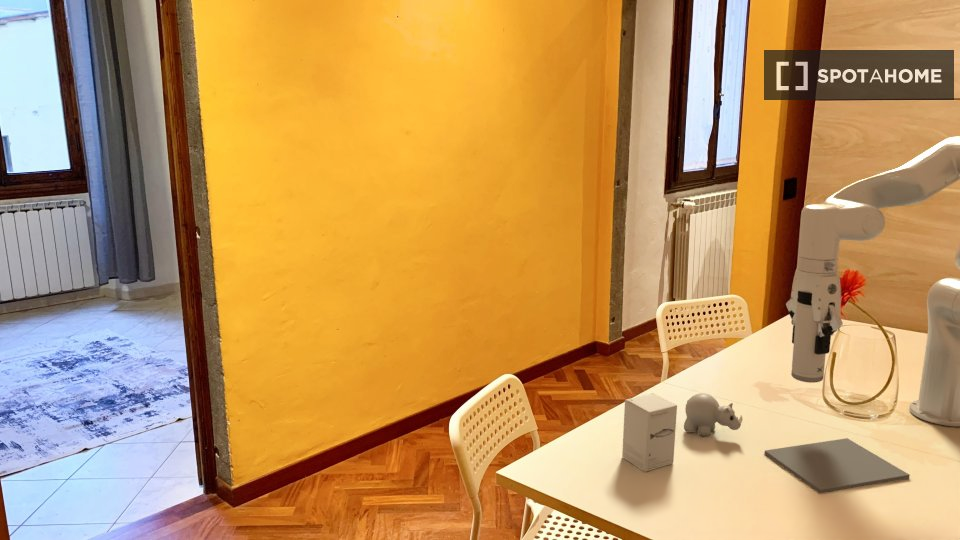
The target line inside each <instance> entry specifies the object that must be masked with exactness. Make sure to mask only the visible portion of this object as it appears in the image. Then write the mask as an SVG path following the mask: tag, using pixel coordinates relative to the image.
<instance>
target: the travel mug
mask: <svg viewBox="0 0 960 540" xmlns="http://www.w3.org/2000/svg"><path fill="white" fill-rule="evenodd" d="M811 301H812V293H806V292H800V291H798V298H797V307H796V320H795V333H794V344H793V347H792V359H791V360H792V362H791V363H792V364H791V371H790V372H791V373H790V375H791V377H792V378H793V379H795V380H797V381H798V382H799V381H800V382H804V383H809V384H810V383H813V384H814V383H820V382H822V381H824V376H825V375H824V374H825V364H826V363H825V362H826V354H819V355H817V354H815V340H816V336H817V335H818V330H817V322H815V321H813V315H812V309H811V308H812V303H811ZM824 320H827V317H824ZM823 328H824V329H825V328H826V323H825V324H823Z"/></svg>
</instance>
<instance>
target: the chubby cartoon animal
mask: <svg viewBox="0 0 960 540" xmlns="http://www.w3.org/2000/svg"><path fill="white" fill-rule="evenodd" d="M684 411H685V415H686V418H685V420H684V424H683V430H684V431H686V432H688V433H695V432H696V431H697V433H698V435H700V436H701V437H710V435H711V432H713V431H715V429H716V423H717V424H719V425H720V426H723V427H724V426H725V427H728V428H729V429H730V430H732V431H737V430H739V429H740V428H741V425H742V422H743V415H740V417H738V416H737V415H735V413H736V412H735V410H734V409H733V402H731V403H729V404H728V405H723V406H720V403H719V402H718V400H716V398H715V397H713V396H712V395H711V394H707V393H696V394H694V395H692V396H691V397H690V398H689V399H688V400H687V401H686V404H685V410H684Z"/></svg>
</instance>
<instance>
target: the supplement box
mask: <svg viewBox="0 0 960 540" xmlns="http://www.w3.org/2000/svg"><path fill="white" fill-rule="evenodd" d="M677 410H678V404H676V403H673V402H671V401H670V400H668V399H665V398H664V397H662V396H659V395H657V394H655V393H649V394H644V395H640V396H635V397H632V398H631V397H630V398H627V399H624V412H623V413H624V415H623V416H624V417H623V435H622V437H623V438H622V451H621V452H622V458H623V459H625V460H626V461H627V462H630V463H631V464H632V465H633V466H635V467H636V468H639V469H640V470H641V471H643V473H647V472H648V471H651V470H655V469H658V468H662V467H666V466H668V465H673V464H674V456H675V446H676V445H675V443H676V440H675V439H676V429H677V428H676V426H677V425H676V424H677V415H678V414H677V413H678V411H677Z"/></svg>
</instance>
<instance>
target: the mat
mask: <svg viewBox="0 0 960 540" xmlns="http://www.w3.org/2000/svg"><path fill="white" fill-rule="evenodd" d="M763 454H764V455H765V456H767V457H768V458H769V459H770V460H772V461H773V462H775V463H776V464H777V465H779V466H780V467H782V468H783V469H784V470H785V471H787V472H789V473H790V474H791V475H793V476H794V477H796V478H797V479H799V480H800V481H801V482H803V483H804V484H805V485H807V486H808V487H810V488H811V489H813V490H814V491H815V492H817V493H818V494H827V493H833V492H838V491H843V490H849V489H854V488H855V489H856V488H861V487H862V488H863V487H868V486H871V485H872V486H874V485H878V484H885V483H892V482H896V481H897V482H898V481H903V480H909V479H910V473H908V472H906V471H904V470H902V469H900V468H899V467H898V466H896V465H894V464H892V463H890V462H888V461H887V460H885V459H883V458H882V457H880V456H878V455H877V454H875V453H873V452H871V451H870V450H868V449H866V448H865V447H863V446H861V445H859V444H858V443H856V442H854V441H853V440H851V439H849V438H848V437H846V438H839V439H832V440H828V441H827V440H826V441H819V442H813V443H806V444H799V445H792V446H786V447H780V448H772V449H767V450H764V453H763Z"/></svg>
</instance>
